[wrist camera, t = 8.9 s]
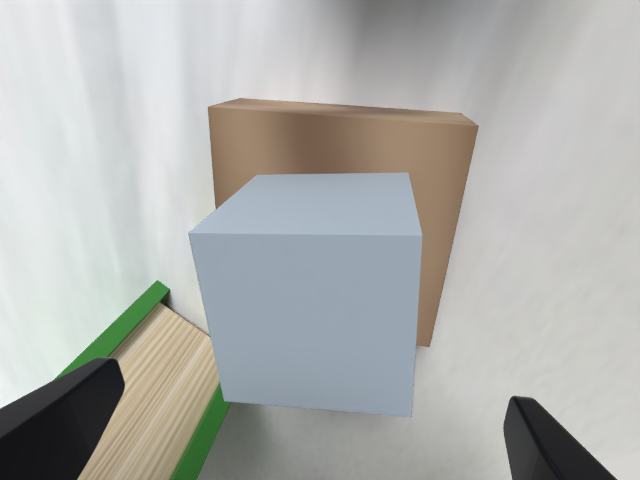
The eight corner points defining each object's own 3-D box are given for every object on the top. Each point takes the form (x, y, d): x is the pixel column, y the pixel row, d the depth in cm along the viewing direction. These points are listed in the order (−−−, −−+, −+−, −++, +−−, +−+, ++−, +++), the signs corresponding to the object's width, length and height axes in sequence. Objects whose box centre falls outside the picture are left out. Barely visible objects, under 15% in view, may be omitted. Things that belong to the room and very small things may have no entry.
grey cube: (408, 172, 14) (422, 235, 9) (403, 305, 17) (411, 417, 12) (256, 174, 15) (188, 233, 10) (272, 300, 18) (224, 401, 12)
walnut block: (459, 111, 17) (478, 125, 13) (422, 298, 21) (429, 347, 18) (242, 97, 18) (207, 106, 15) (249, 277, 22) (224, 318, 19)
